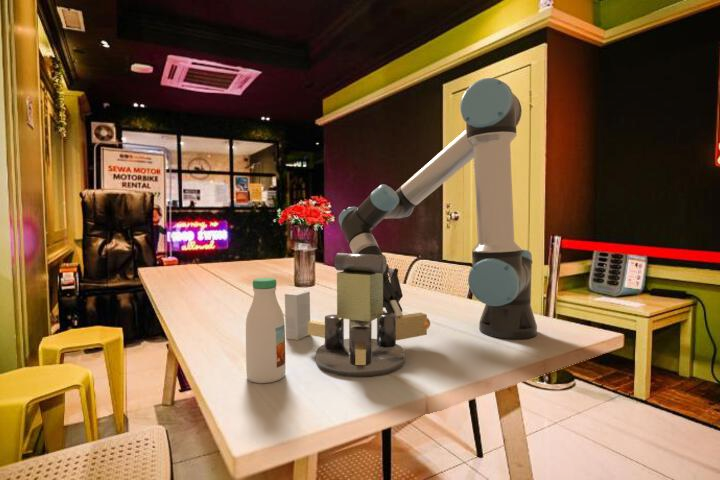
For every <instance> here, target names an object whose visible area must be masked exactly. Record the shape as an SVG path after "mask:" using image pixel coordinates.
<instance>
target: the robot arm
mask: <svg viewBox="0 0 720 480" xmlns="http://www.w3.org/2000/svg"><path fill="white" fill-rule="evenodd" d="M459 108H460V109H459V110H460V113H461V117H462V119H463V121H464V122H465V125H466V126H465V127H466V128H465V130H464V131H462V132H461V133H460V134H459V135H458V136H457V137H456V138H455V139H454V140H452V141H451V142H450V143H449V144H448V145H447V146H445V147H444V148H443V149H442V150H440V152H438V153H437V154H436V155H435V156H434V157H433V158H432V159H431V160H430V161H429V162H427V163H426V164H425V165H424V166H423V167H421V169H419V170H418V171H417V172H416V173H414V174H413V175H412V176H411V177H410V178H409V179H408V180H407V181H406V182H404V183H403V184H402V185H401V186H400V187H399V188H398V189H396V191H395V190H394V189H393V188H392V187H390V186H388V185H387V184H384V183H383V184H380V185H379V186H378V187H376V188H375V189H373V191H372V192H371V193H370V194H369V195H368V196H367V197H366V199H364V200H363V202H362V203H361V204H359V206H358V207H357V206H348V207H347V208H346V209H343V210H342V211H341V212H340V214H339V216H338V223H339V225H340V230H341V232H342V233H343V235H344V237H345V240H346V241H347V243H348V246H349V248H350V250H351V252H352V253H351V254H372V255H384V254H383V252H382V251H381V249H380V247H379V244H378V242H377V240H376V238H375V237H374V234H373V232H372V230H373V229H374V228H375V227H377V225H378V224H380V222H382V221H383V220H384V219H385V220H388V219H404V218H407V217H410V216H411V215H412V213H413V211H414V208H416V206H417V205H419V204H420V203H422V201H424V199H425V200H426V198H427V197H429V195H431V194H432V193H433V192H435V191H436V190H437V189H438V188H439V187H440V186H442V185H443V184H444V183H445V182H446V181H448V180H449V179H450V178H451V177H453V176H454V175H455V174H456V173H458V172H459V171H461V169H462V168H464V167H465V166H466V165H467V164H468V163H470V162H471V161H472V160H474V161H473V162H474V163H473V164H474V184H475V185H474V186H475V206H476V207H475V209H476V230H477V233H476V234H477V244H476V245H475V246H474V247H473V248H472V249H471V256H472V257H471V258H472V267H471V269H470V270H469V274H468V277H467V278H468V279H467V283H468V288H469V290H470V292H471V294H472V295H473V297H475V298H476V300H478V301H479V302H481V303H482V304H485V305H484V308H483V311H482V312H481V313H482V314H481V316H480V319H479V325H478V327H479V332H481V333H482V334H485V335H487V336H491V337H494V338H500V339H509V340H523V339H525V340H526V339H530V338H534V337H536V336H537V335H538V324H537V322H536V318H535V315H534V312H533V309H532V306H531V305H532V303H531V302H532V267H533V266H532V264H533V257H532V256H533V255H532V252H530V251H529V249H522V247H520V246H519V245H518V244H517V242H515V227H514V205H513V202H514V201H513V178H512V158H511V143H512V142H513V140H515V138H516V137H517V126H518V125H519V123H520V121H521V117H522V105H521V102H520V99H519V98H518V97H517V96H516V95H515V94H514V93H513V91H512V88H510V86H509V84H507V83H505V82H504V81H502V80H500V79H499V78H498V79H497V78H493V77H487V78H481V79H479V80H477V81H475V82H473V83H472V84H471V85H469V87H468V88H467V89H466V90H465V91H464V93H463V94H462V97H461V100H460V104H459ZM402 298H403V292H402V288H401V284H400V279H399V269H398V268H396V267H395V268H390V266H389V265H388V264H387V266H386V270H385V272H384V273H383V309H384V308H385V310H386V313H393V314H395V315H396V316H401V315H404V314H403V308H402V306H401V304H400V301H401V300H402Z"/></svg>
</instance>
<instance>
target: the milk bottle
mask: <svg viewBox="0 0 720 480" xmlns="http://www.w3.org/2000/svg"><path fill="white" fill-rule="evenodd" d="M252 291H253V293H254V294H253V297H252V301H251V304H250V307H249V309H248V311H247V314H246V319H245V358H246V359H245V362H246V367H245V369H246V377H247V380H248V381H249V382H252V383H256V384H270V383H274V382H277V381H280V380H281V379H283V378H284V377H285V375H286V324H285V315H284V313H283V310H282V308H281V306H280V304H279V302H278V299H277V295H276V294H277V293H276V291H277V279H276V278H273V277H257V278H254V279H253V280H252Z"/></svg>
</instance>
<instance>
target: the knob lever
mask: <svg viewBox="0 0 720 480" xmlns="http://www.w3.org/2000/svg"><path fill="white" fill-rule="evenodd" d="M430 327H431V321H430V319H429V318H428V315H427V314H426V313H423V312H415V313H409V314H403V315H401V316H396V315H395V314H393V313H387V312H383V315H381V316H380V317H378V318H376V339H377V346H379V347H384V348H389V347H394V346H396V344H397V341H401V340H406V339H410V338H412V339H413V338H417V337H422V336H427V334H428V329H429V328H430Z"/></svg>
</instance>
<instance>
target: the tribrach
mask: <svg viewBox="0 0 720 480" xmlns="http://www.w3.org/2000/svg"><path fill="white" fill-rule="evenodd" d="M387 262H388V260H387V257H386V255H384V254H383V255H372V254H353V253H351V252H350V253H347V252H337V253H336V254H335V257H334V261H333V264H334V268H335V270H336V271H338V272H336V314H328V315H325V316H324V321H318V320H310V322H308V336H311V337H312V336H313V337H317V338H318V337H319V338H324V344H322V345H320V346H318V348H317V349H316V351H315V364H316V366H317V367H318V368H319V369H320V370H323V371H324V372H325V373H328V374H332V375H336V376H339V377H340V376H341V377H348V378H349V377H350V378H371V377H379V376H384V375H389V374H391V373H395V372H396V371H399V370H400V369H402V368H403V367H404V365H405V363H406V351H405V348H404V347H402V346H401V345H399V344H398V343H396V346H394V347H389V348H384V347H379V346H377V338H372V337H373V336H372V330H373V329H372V325H373V324H372V323H373V321H374V320H377V318H378V317H380V316H381V315H383V313H384V308H383V273H384V272H385V270H386V266H387V265H388V263H387ZM344 320H348V327H349V329H348V330H349V331H348V333H349V335H348V336H349V337H348V338H345V333H344V332H345V326H344V325H345V321H344Z"/></svg>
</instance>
